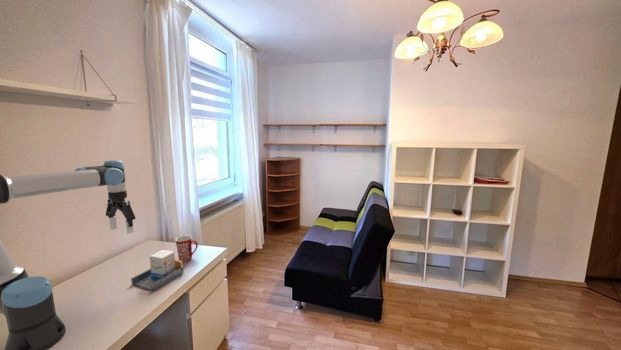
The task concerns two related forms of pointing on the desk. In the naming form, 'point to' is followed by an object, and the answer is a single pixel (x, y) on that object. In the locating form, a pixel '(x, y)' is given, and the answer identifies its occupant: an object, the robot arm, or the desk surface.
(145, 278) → the grey open box
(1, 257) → the robot arm
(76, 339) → the desk surface
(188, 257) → the mug
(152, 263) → the ink box
